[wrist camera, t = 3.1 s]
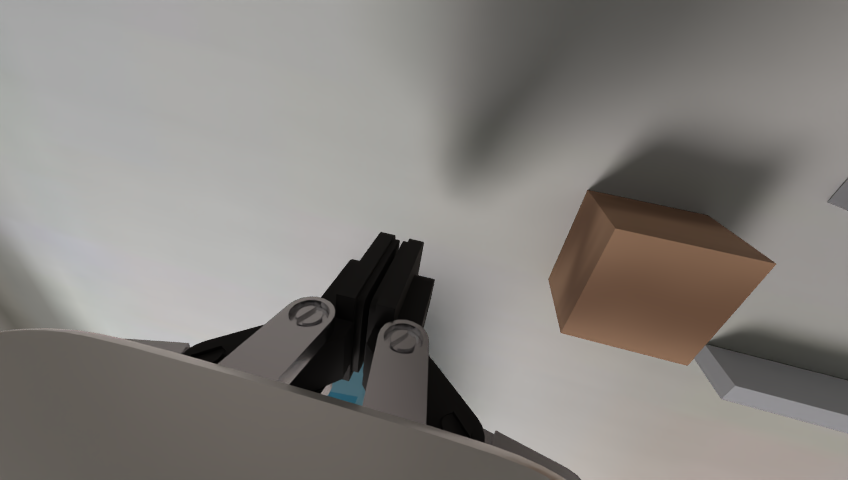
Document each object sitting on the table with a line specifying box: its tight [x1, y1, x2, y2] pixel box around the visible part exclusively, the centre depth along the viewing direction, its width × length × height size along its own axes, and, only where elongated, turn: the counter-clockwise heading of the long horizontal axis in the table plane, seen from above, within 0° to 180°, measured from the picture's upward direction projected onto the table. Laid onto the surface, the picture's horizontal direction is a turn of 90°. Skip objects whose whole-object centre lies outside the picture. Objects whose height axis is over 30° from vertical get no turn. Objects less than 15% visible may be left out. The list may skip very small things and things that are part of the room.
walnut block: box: [548, 190, 776, 366], centre depth 13 cm, size 5×5×4 cm
